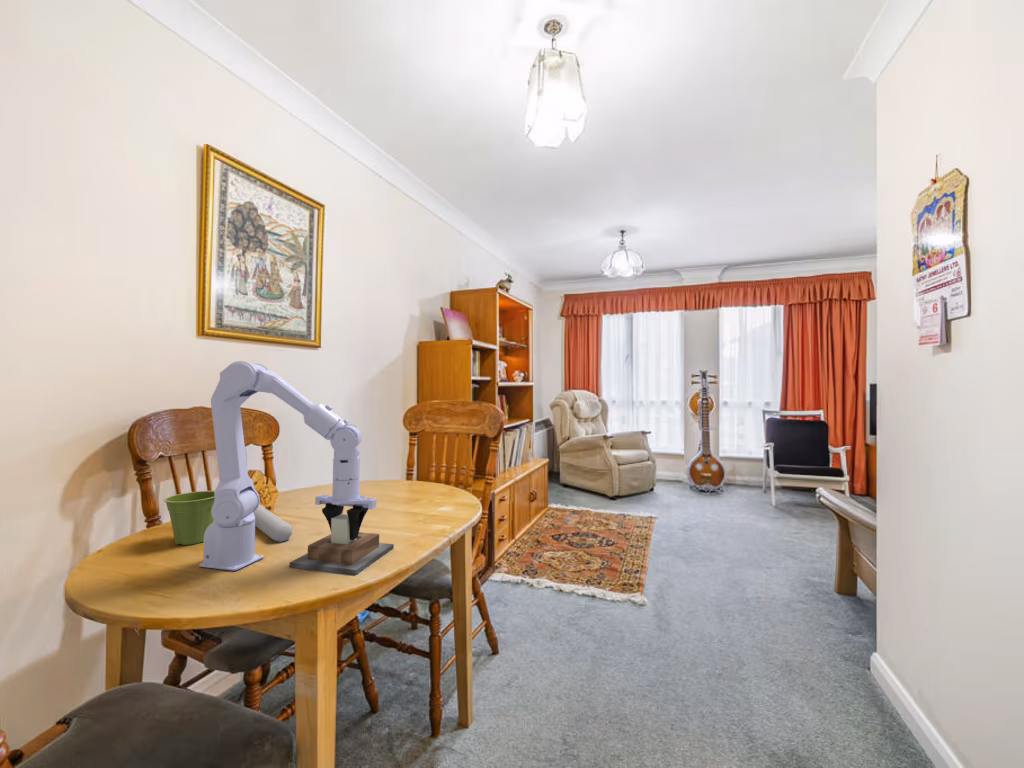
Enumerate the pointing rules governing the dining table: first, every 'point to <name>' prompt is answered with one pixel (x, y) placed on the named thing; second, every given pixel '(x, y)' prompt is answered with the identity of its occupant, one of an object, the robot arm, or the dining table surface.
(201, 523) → the plant pot
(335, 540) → the peg
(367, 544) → the socket
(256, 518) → the tube
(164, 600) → the dining table surface
